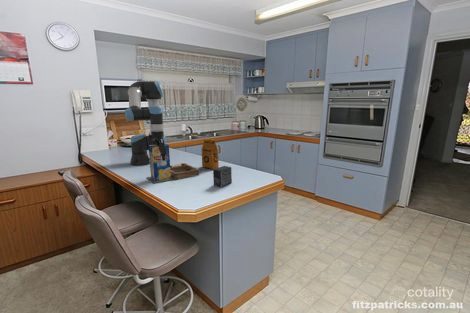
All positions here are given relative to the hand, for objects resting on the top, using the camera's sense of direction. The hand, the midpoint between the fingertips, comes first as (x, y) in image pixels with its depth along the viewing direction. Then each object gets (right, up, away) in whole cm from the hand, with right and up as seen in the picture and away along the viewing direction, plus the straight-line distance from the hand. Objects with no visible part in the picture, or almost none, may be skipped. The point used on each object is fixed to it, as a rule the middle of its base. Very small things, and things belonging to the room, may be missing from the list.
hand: (159, 163), depth 163 cm
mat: (0, -10, +2) cm, 11 cm away
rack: (+11, -8, +15) cm, 20 cm away
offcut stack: (+6, -7, +20) cm, 22 cm away
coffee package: (+30, -4, +30) cm, 43 cm away
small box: (+41, -13, -7) cm, 44 cm away
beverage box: (0, -10, +2) cm, 10 cm away
